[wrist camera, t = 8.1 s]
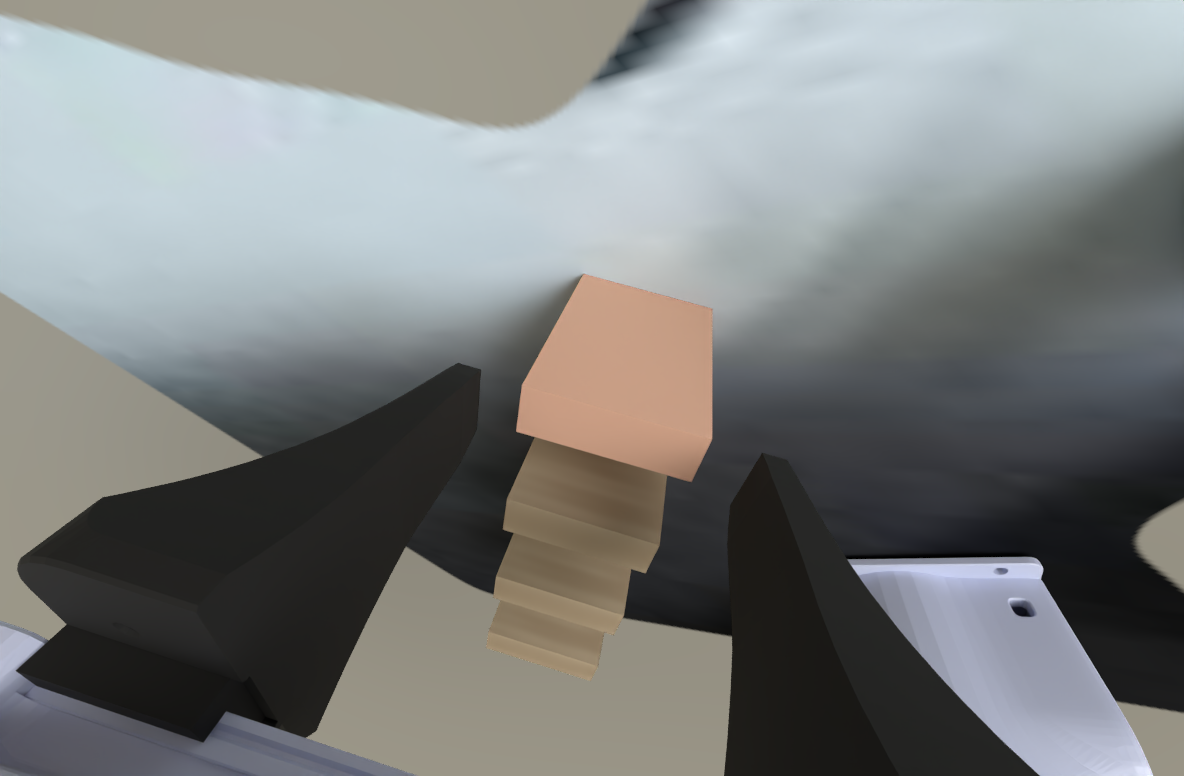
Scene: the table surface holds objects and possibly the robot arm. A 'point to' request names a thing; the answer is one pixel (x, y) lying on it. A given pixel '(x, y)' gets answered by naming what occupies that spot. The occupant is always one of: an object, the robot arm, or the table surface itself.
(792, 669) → the robot arm
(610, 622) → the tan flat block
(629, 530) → the domino
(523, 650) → the domino
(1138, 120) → the table surface
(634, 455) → the salmon orange block
